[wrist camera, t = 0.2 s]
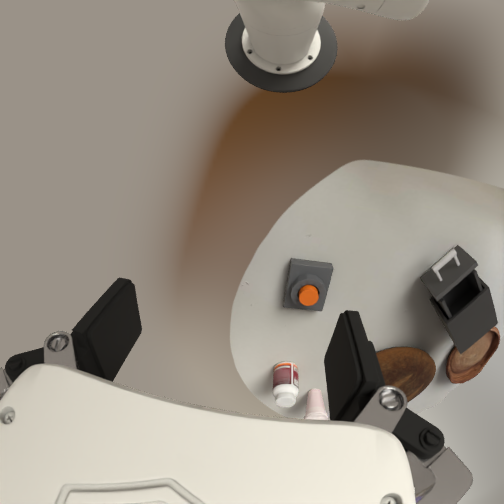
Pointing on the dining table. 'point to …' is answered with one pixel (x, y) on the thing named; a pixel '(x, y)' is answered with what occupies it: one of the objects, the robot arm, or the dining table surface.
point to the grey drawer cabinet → (470, 320)
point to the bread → (407, 369)
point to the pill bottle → (285, 384)
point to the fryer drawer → (453, 281)
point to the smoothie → (315, 406)
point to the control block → (307, 282)
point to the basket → (472, 358)
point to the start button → (308, 295)
